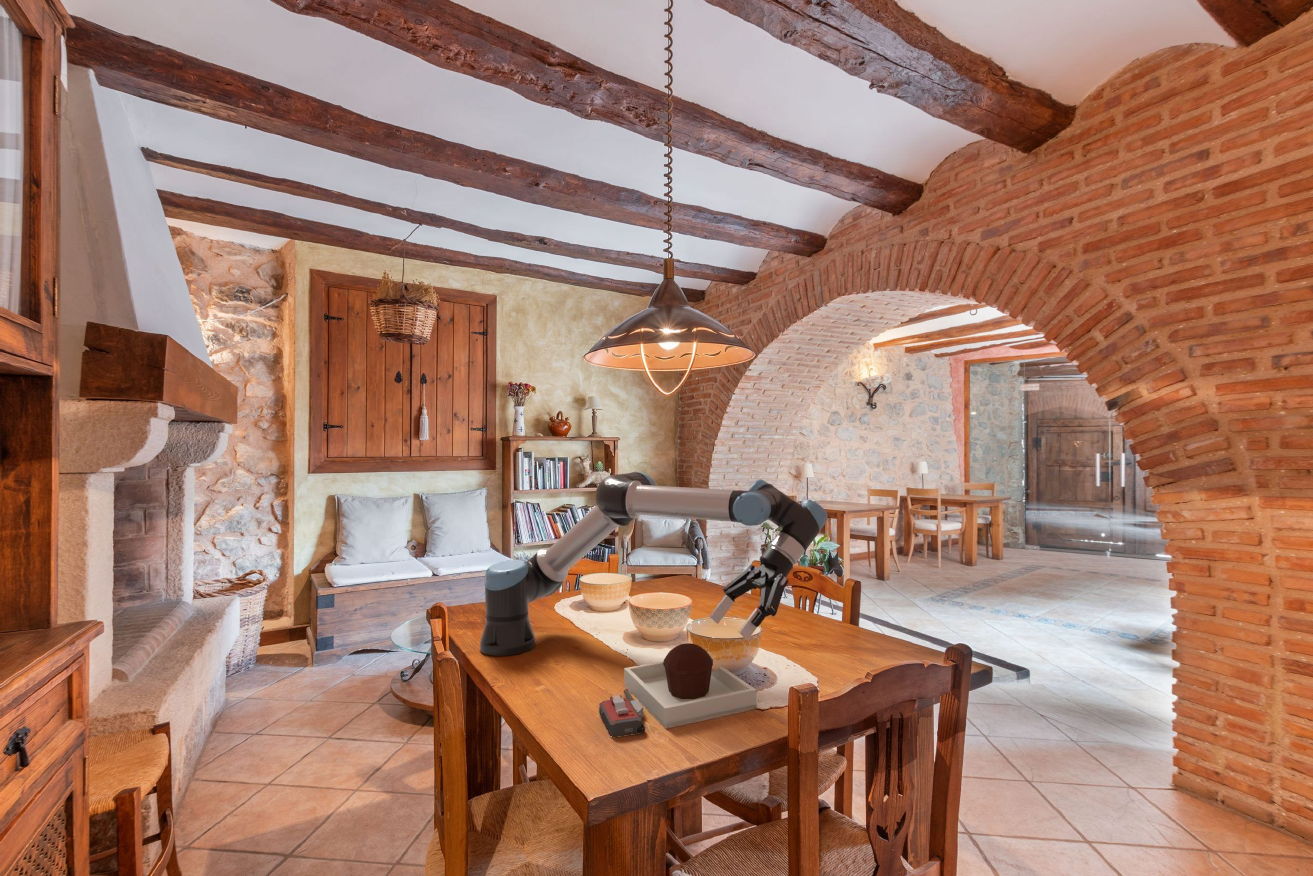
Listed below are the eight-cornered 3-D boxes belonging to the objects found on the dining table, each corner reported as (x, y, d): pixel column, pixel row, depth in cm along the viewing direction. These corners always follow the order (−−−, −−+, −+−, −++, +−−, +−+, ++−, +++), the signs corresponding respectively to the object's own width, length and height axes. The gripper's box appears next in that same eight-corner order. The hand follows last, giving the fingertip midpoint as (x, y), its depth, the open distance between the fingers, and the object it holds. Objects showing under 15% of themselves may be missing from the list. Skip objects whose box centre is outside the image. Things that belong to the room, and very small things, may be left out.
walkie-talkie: (655, 736, 118) (630, 696, 137) (654, 713, 118) (629, 676, 137) (611, 743, 115) (591, 701, 134) (610, 720, 115) (591, 681, 134)
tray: (624, 685, 142) (624, 668, 142) (704, 670, 150) (704, 654, 150) (665, 728, 120) (665, 708, 120) (756, 708, 128) (756, 689, 128)
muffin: (713, 703, 129) (712, 655, 129) (661, 702, 130) (660, 655, 130) (713, 681, 141) (712, 637, 141) (666, 680, 142) (665, 637, 142)
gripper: (823, 576, 135) (767, 654, 129) (762, 557, 158) (712, 623, 152) (803, 554, 133) (745, 632, 127) (744, 539, 156) (692, 604, 150)
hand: (727, 627), depth 139 cm, fingers open, 13 cm apart
